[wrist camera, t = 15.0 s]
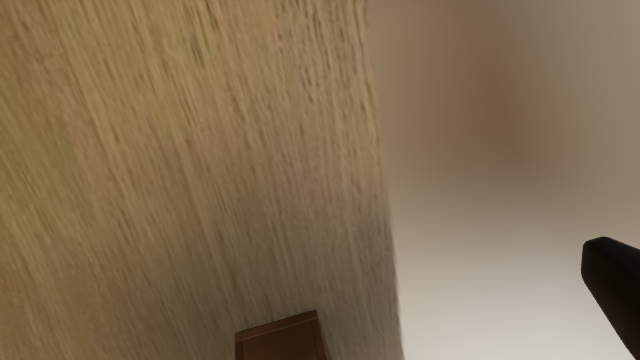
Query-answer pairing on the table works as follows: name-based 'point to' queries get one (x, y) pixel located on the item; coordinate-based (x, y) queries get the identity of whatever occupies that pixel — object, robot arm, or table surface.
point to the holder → (284, 340)
